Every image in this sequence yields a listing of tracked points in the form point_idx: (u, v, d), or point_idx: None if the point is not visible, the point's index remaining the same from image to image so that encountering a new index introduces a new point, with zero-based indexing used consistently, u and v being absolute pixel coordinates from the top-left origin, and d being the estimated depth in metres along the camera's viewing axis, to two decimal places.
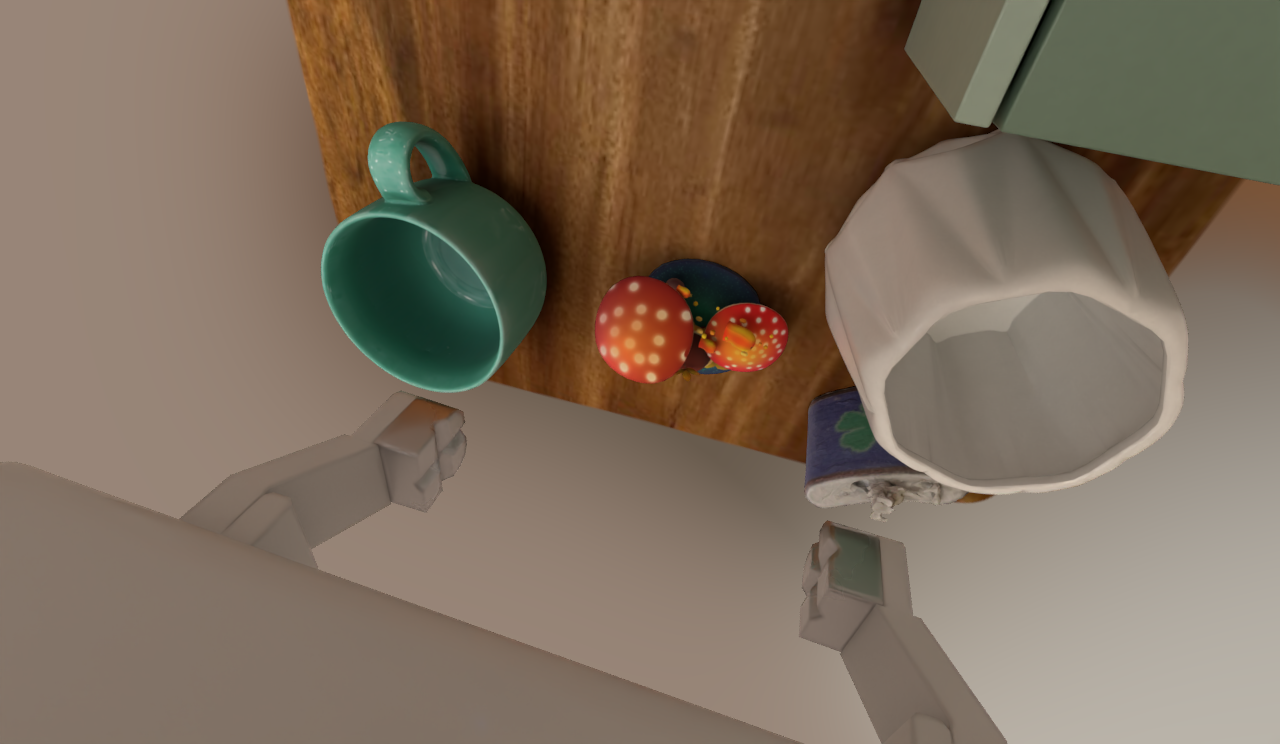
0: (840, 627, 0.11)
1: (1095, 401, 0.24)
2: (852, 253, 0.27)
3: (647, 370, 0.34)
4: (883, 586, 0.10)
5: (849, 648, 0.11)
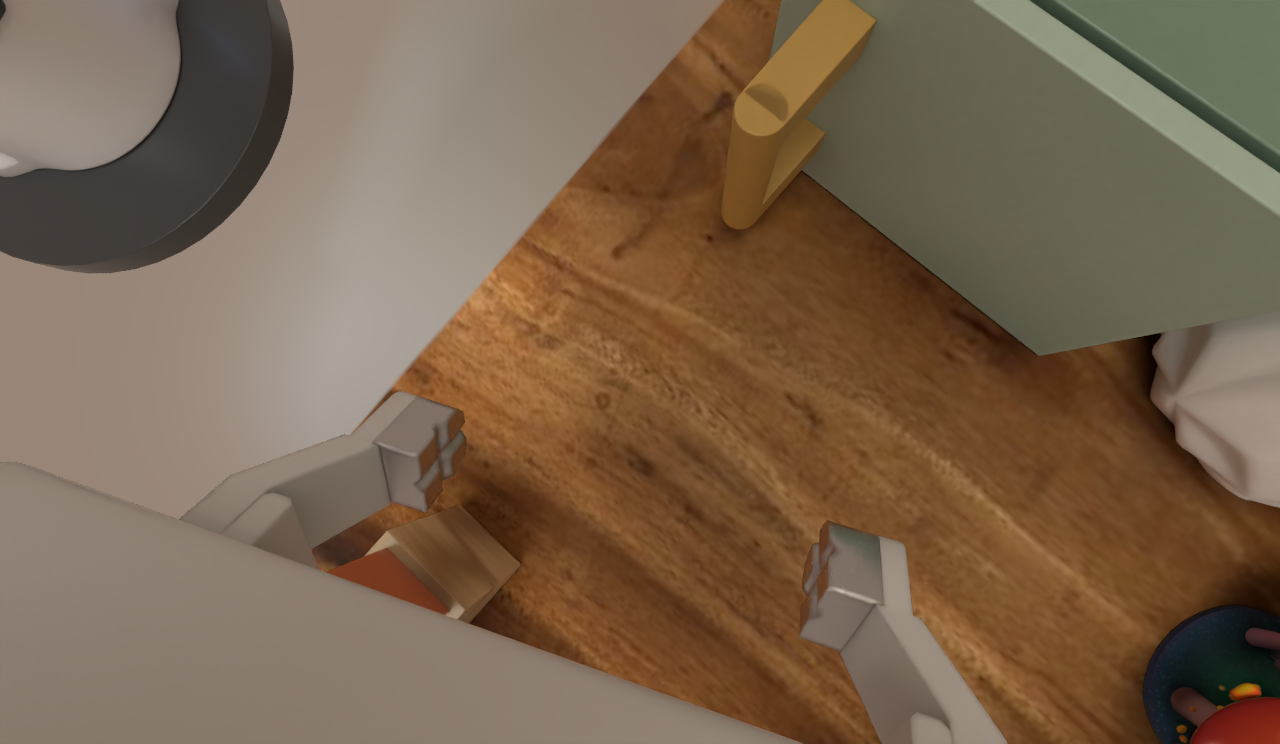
0: (840, 627, 0.11)
1: None
2: None
3: None
4: (883, 586, 0.10)
5: (849, 648, 0.11)
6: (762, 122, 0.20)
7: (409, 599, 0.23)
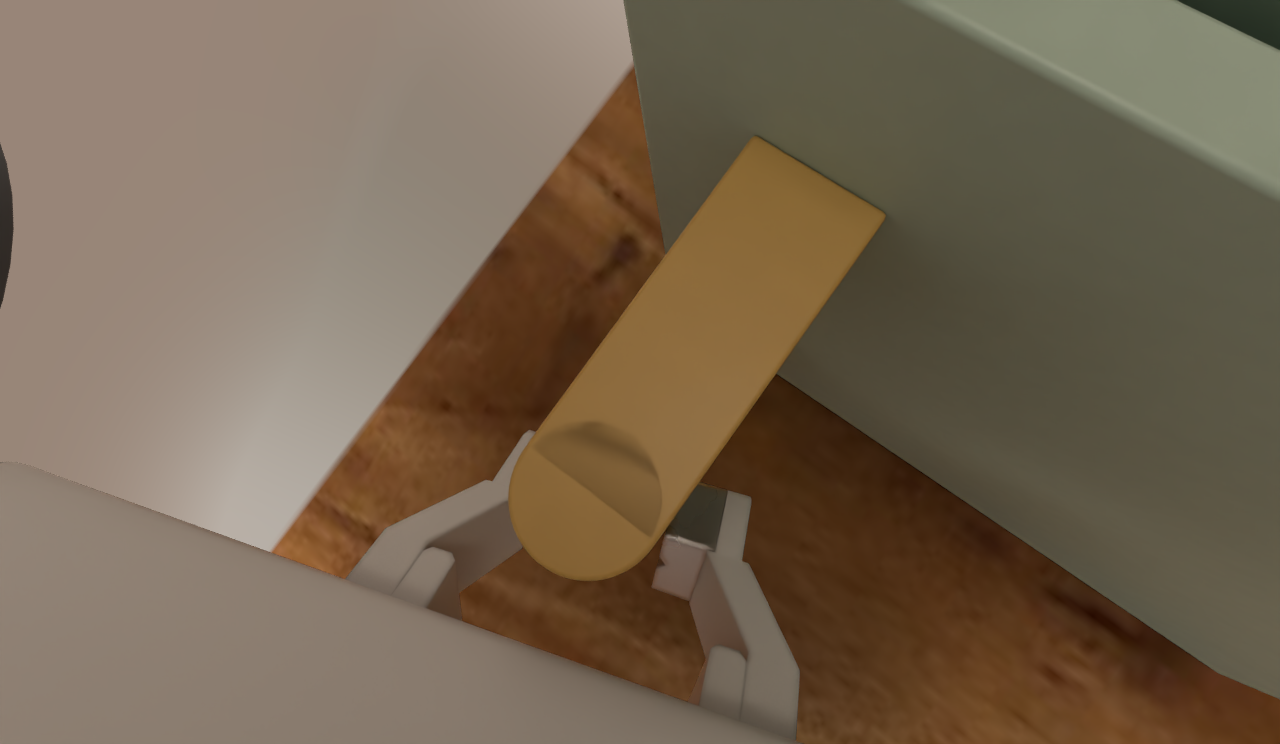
0: (683, 575, 0.11)
1: None
2: None
3: None
4: (719, 535, 0.11)
5: (694, 596, 0.11)
6: (590, 539, 0.07)
7: None
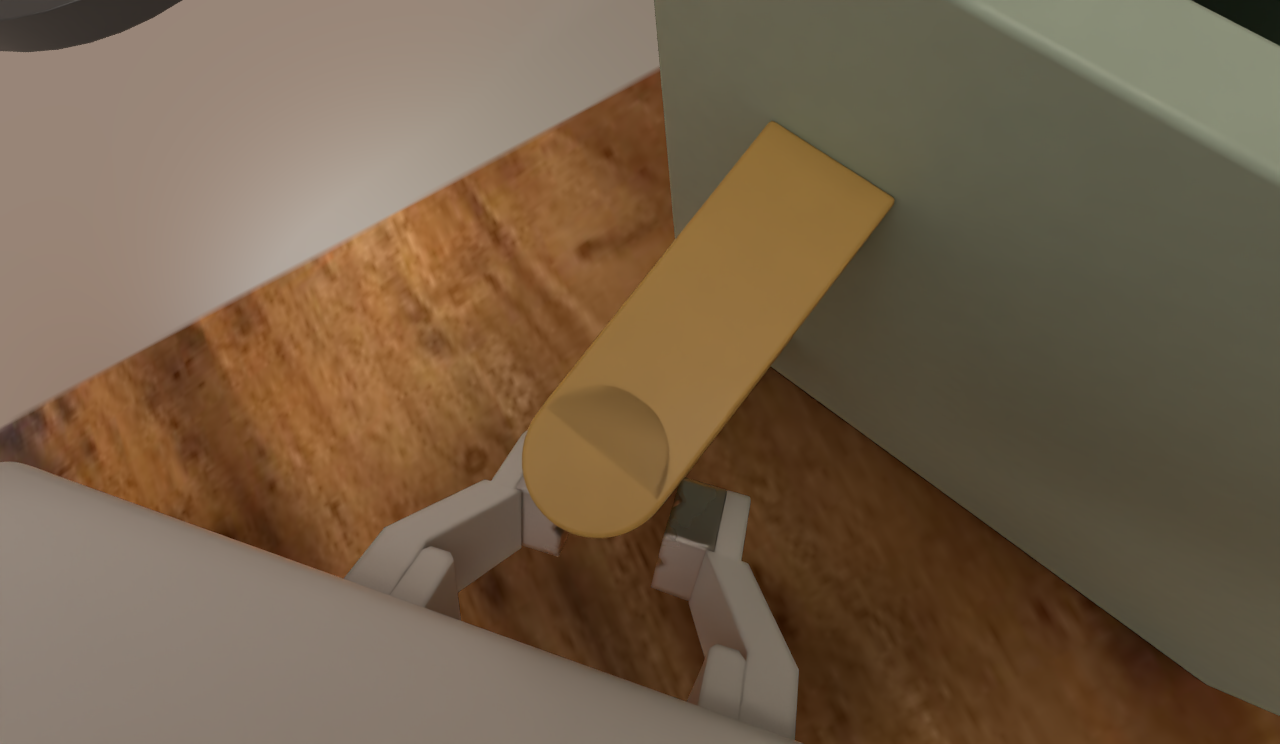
0: (683, 574, 0.11)
1: None
2: None
3: None
4: (718, 534, 0.11)
5: (693, 596, 0.11)
6: (599, 497, 0.07)
7: None
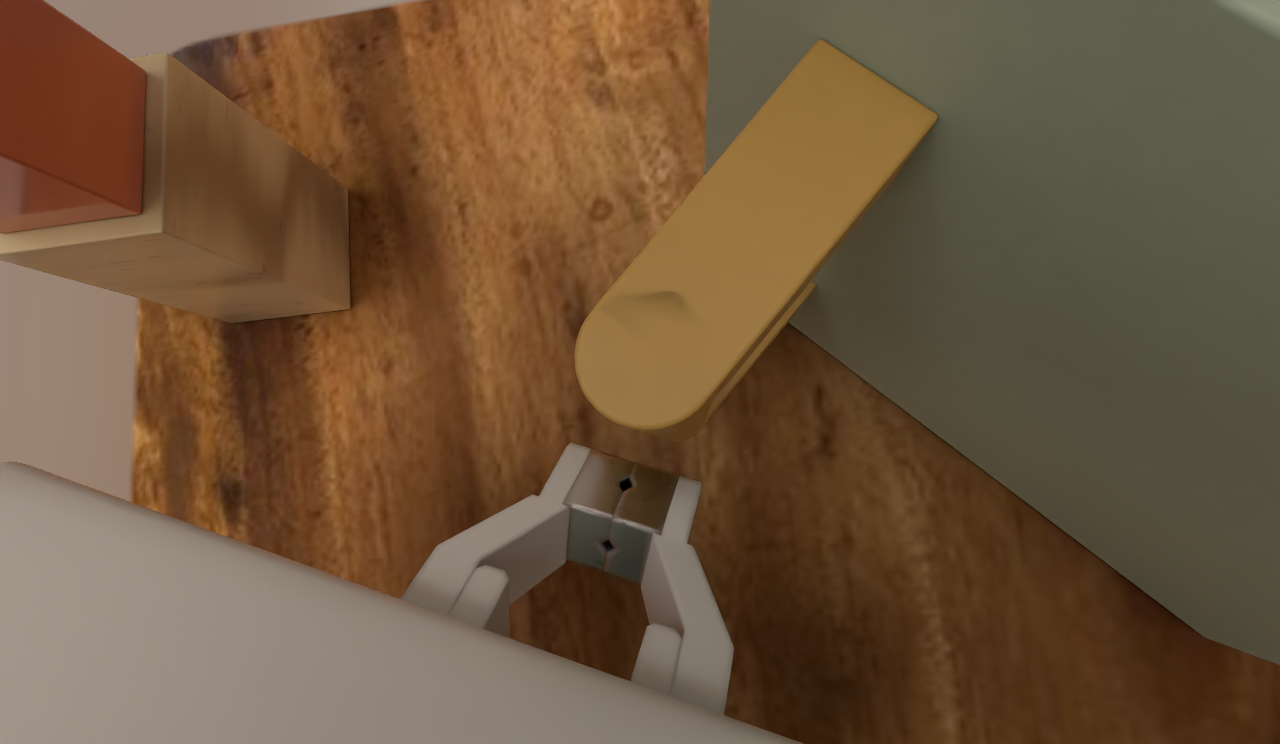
0: (633, 559, 0.11)
1: None
2: None
3: None
4: (666, 518, 0.11)
5: (643, 580, 0.11)
6: (648, 392, 0.08)
7: (76, 127, 0.13)
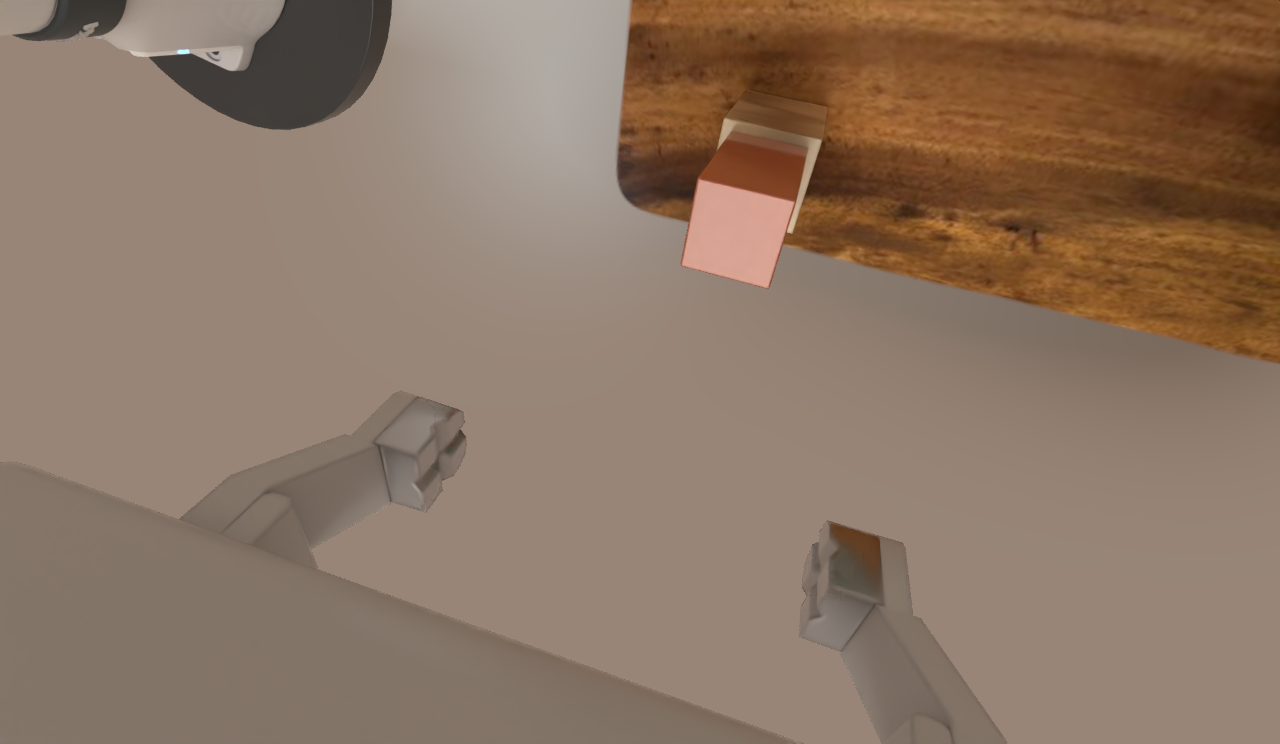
0: (840, 627, 0.11)
1: None
2: None
3: None
4: (883, 586, 0.10)
5: (849, 648, 0.11)
6: None
7: (778, 150, 0.27)
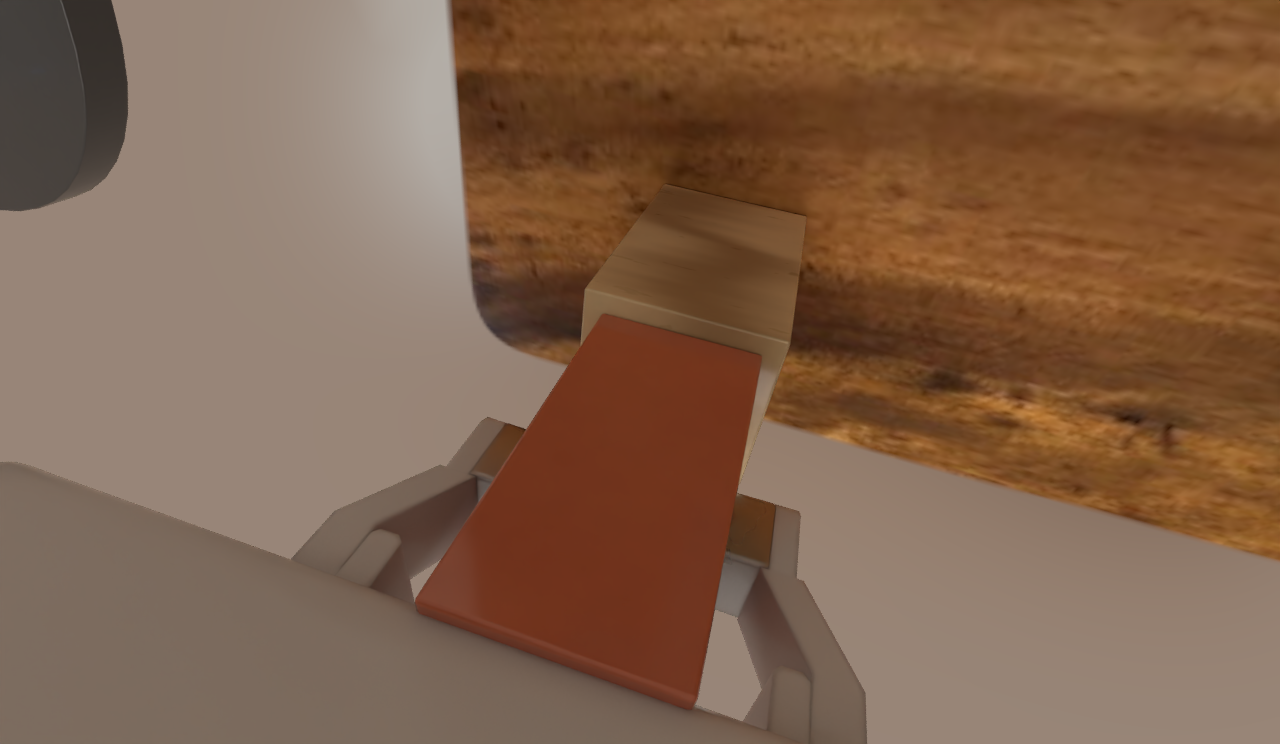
0: (733, 591, 0.11)
1: None
2: None
3: None
4: (771, 551, 0.10)
5: (743, 613, 0.11)
6: None
7: (692, 379, 0.12)
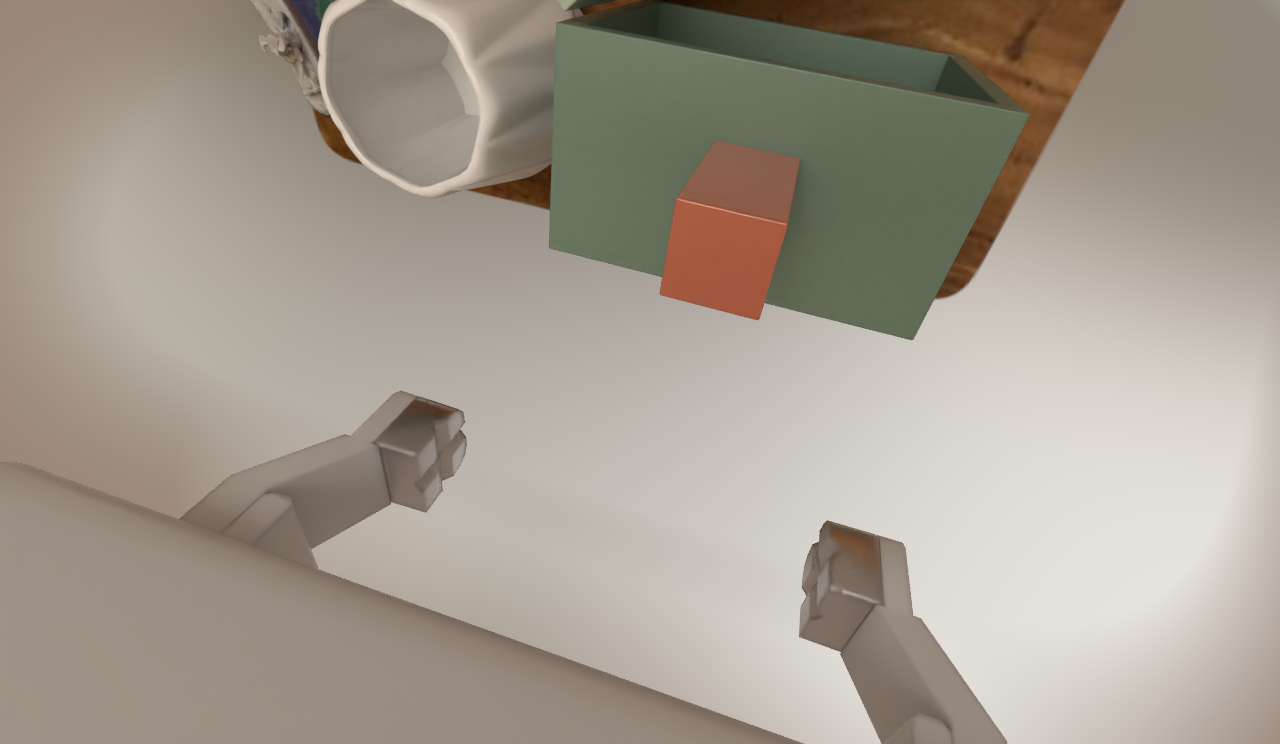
0: (840, 626, 0.11)
1: (426, 163, 0.36)
2: None
3: None
4: (883, 586, 0.10)
5: (849, 648, 0.11)
6: None
7: None
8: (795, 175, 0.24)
